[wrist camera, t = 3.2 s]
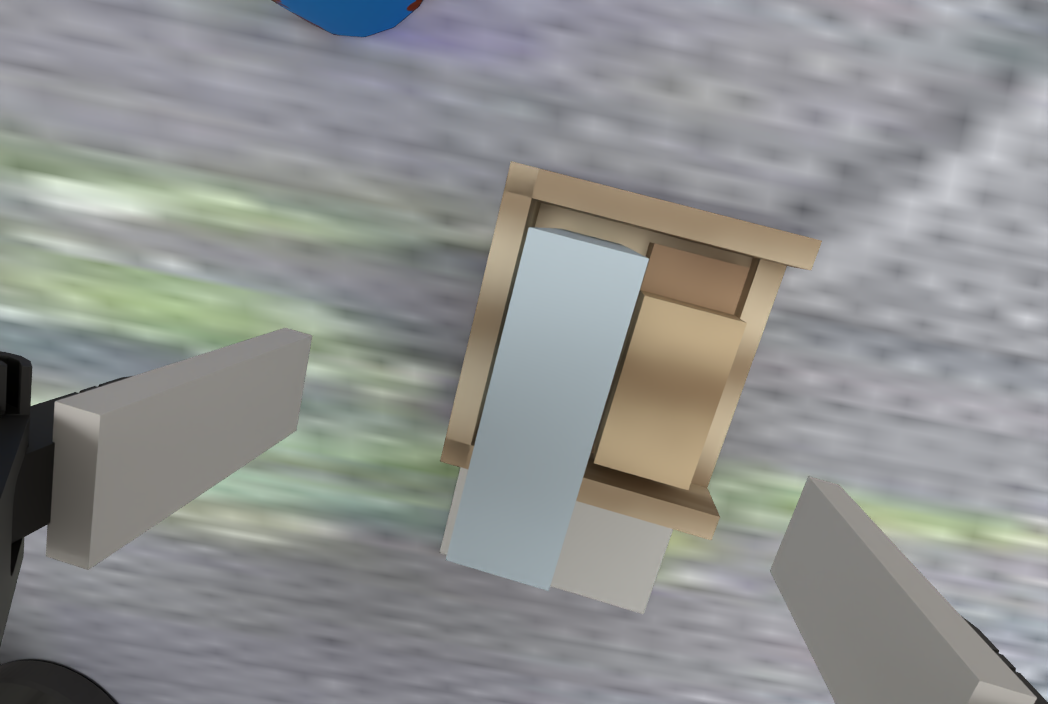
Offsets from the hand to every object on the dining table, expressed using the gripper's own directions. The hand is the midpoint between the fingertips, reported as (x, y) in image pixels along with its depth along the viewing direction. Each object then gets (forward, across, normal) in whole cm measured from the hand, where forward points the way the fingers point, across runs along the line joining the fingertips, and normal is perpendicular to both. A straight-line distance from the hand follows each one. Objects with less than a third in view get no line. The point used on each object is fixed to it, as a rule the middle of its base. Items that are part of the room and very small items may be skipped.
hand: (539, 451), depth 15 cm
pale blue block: (+20, 0, 0) cm, 20 cm away
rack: (+21, -2, 0) cm, 21 cm away
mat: (+21, -2, +14) cm, 25 cm away
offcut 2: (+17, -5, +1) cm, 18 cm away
